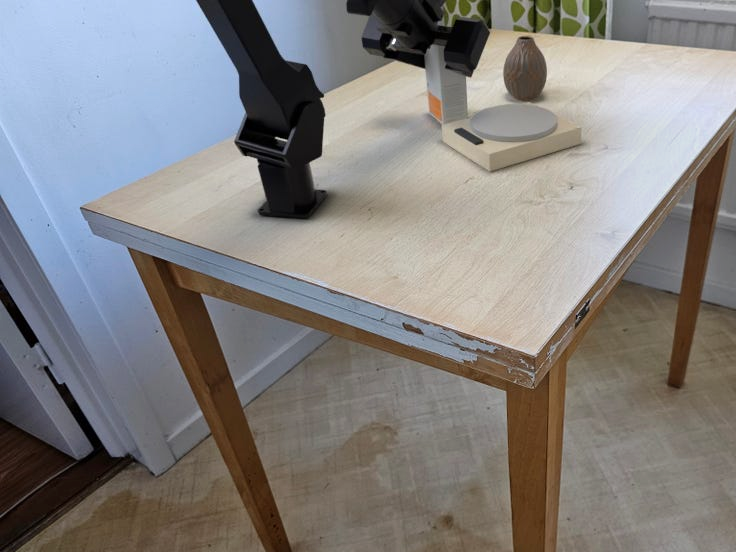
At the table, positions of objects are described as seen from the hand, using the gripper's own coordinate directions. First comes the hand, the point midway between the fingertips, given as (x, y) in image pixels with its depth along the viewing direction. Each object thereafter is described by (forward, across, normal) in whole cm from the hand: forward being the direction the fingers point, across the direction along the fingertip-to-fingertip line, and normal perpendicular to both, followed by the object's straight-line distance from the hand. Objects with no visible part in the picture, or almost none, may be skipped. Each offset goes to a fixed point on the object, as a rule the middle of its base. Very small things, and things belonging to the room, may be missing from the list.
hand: (451, 70), depth 98 cm
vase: (+14, -5, -4) cm, 15 cm away
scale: (+1, -13, +8) cm, 15 cm away
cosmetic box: (+4, 0, +6) cm, 7 cm away
